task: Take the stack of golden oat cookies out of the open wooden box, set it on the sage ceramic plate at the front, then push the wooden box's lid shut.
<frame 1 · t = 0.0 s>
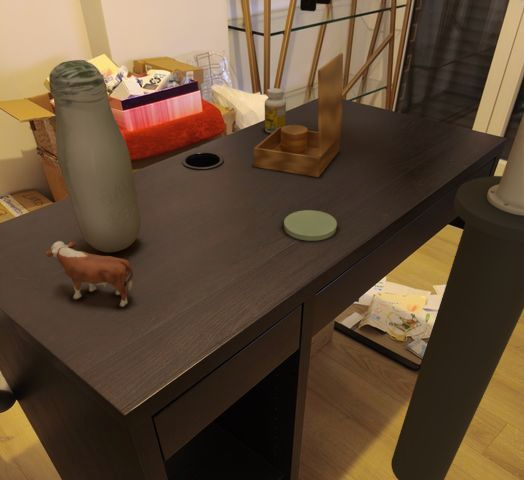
hand: (315, 7, 99), 28 cm above the table, tool pointing down, fingers open, 9 cm apart
wooden box: (297, 159, 110), on the table
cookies: (293, 156, 110), point 1 cm above the table, touching wooden box
bull figurine: (98, 296, 72), on the table
lid: (330, 104, 100), point 12 cm above the table, hinge at 85.0°
plate: (310, 227, 87), on the table
supplement bottle: (274, 131, 125), on the table
grey green bottle: (116, 247, 83), on the table
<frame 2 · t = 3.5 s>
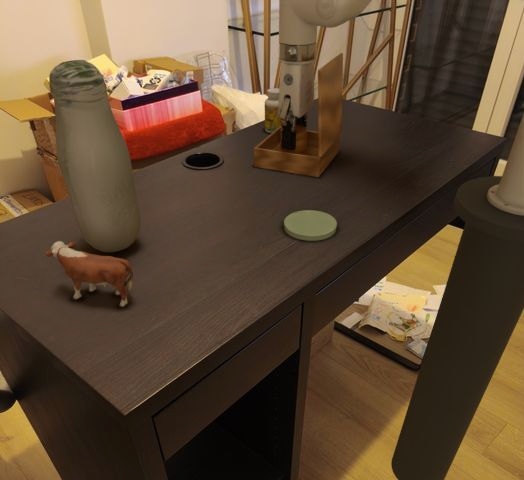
hand: (293, 143, 108), 4 cm above the table, tool pointing down, fingers closed on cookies, 6 cm apart
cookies: (293, 156, 110), point 1 cm above the table, touching wooden box, gripper
everything else where it was.
when the fingers open (4 cm above the table, at t = 13.7 s): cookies stays where it is, resting on plate.
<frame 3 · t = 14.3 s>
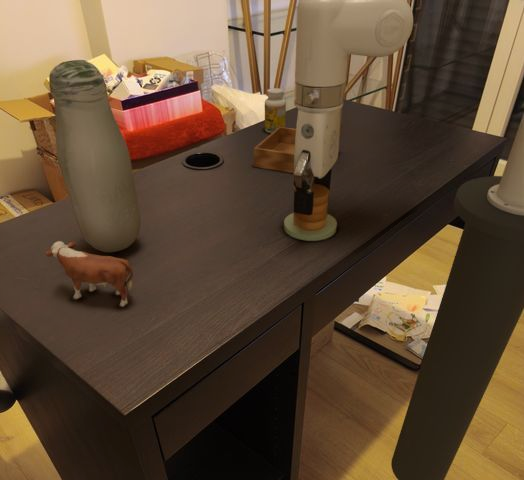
hand: (312, 201, 84), 5 cm above the table, tool pointing down, fingers open, 9 cm apart
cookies: (309, 222, 86), point 1 cm above the table, touching plate
everything else where it was.
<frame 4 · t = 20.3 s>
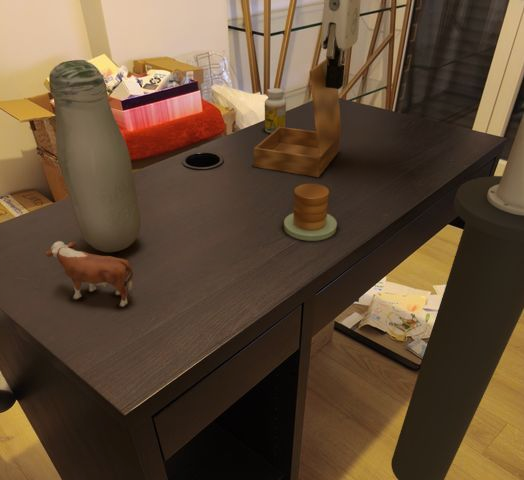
hand: (333, 87, 97), 16 cm above the table, tool pointing down, fingers closed
lid: (327, 105, 100), point 12 cm above the table, hinge at 79.0°, touching gripper
everything else where it was.
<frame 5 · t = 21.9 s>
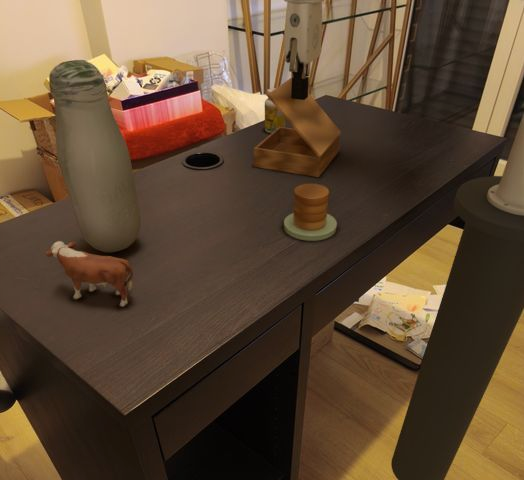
hand: (299, 98, 101), 13 cm above the table, tool pointing down, fingers closed
lid: (306, 115, 103), point 10 cm above the table, hinge at 42.0°, touching gripper
everything else where it was.
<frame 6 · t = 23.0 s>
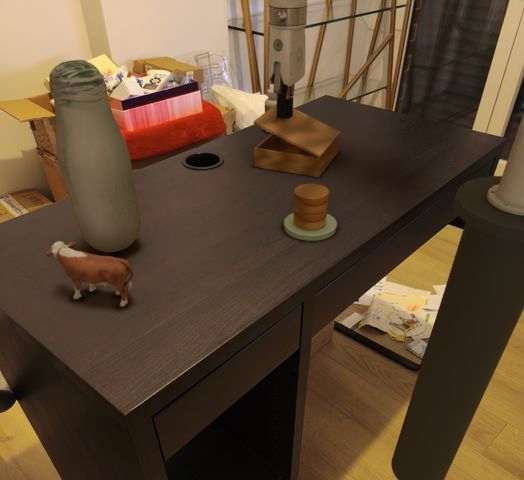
hand: (284, 117, 105), 9 cm above the table, tool pointing down, fingers closed
lid: (298, 128, 106), point 7 cm above the table, hinge at 18.3°, touching gripper
everything else where it was.
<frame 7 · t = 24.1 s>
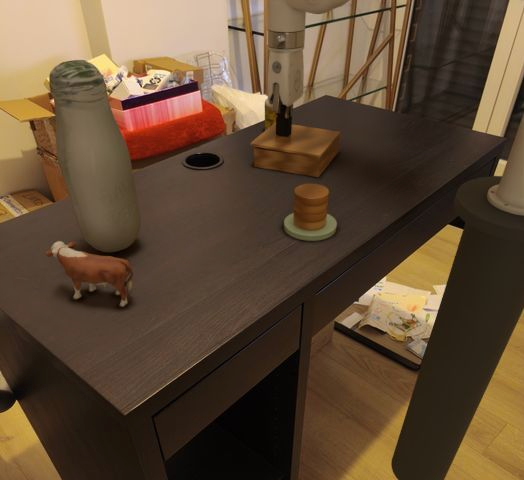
hand: (283, 134, 108), 5 cm above the table, tool pointing down, fingers closed
lid: (296, 138, 107), point 5 cm above the table, hinge at 1.3°, touching gripper
everything else where it was.
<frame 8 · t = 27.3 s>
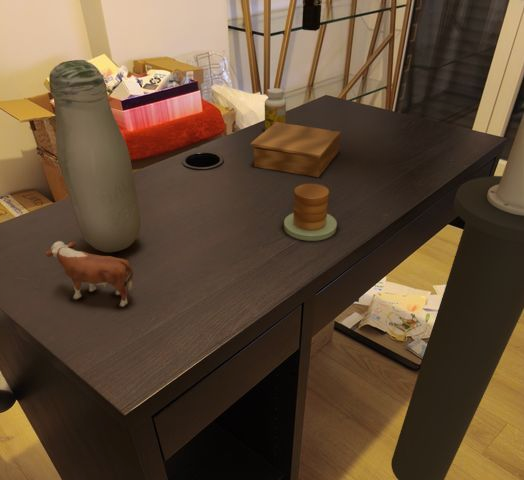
hand: (310, 29, 94), 25 cm above the table, tool pointing down, fingers closed
lid: (296, 138, 107), point 5 cm above the table, hinge at 1.2°
everything else where it was.
at the end: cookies 0.1 cm off-centre on the plate, point 1.0 cm above the plate's base; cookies tilted 0°; lid at +1° (first picture: +85°) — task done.
